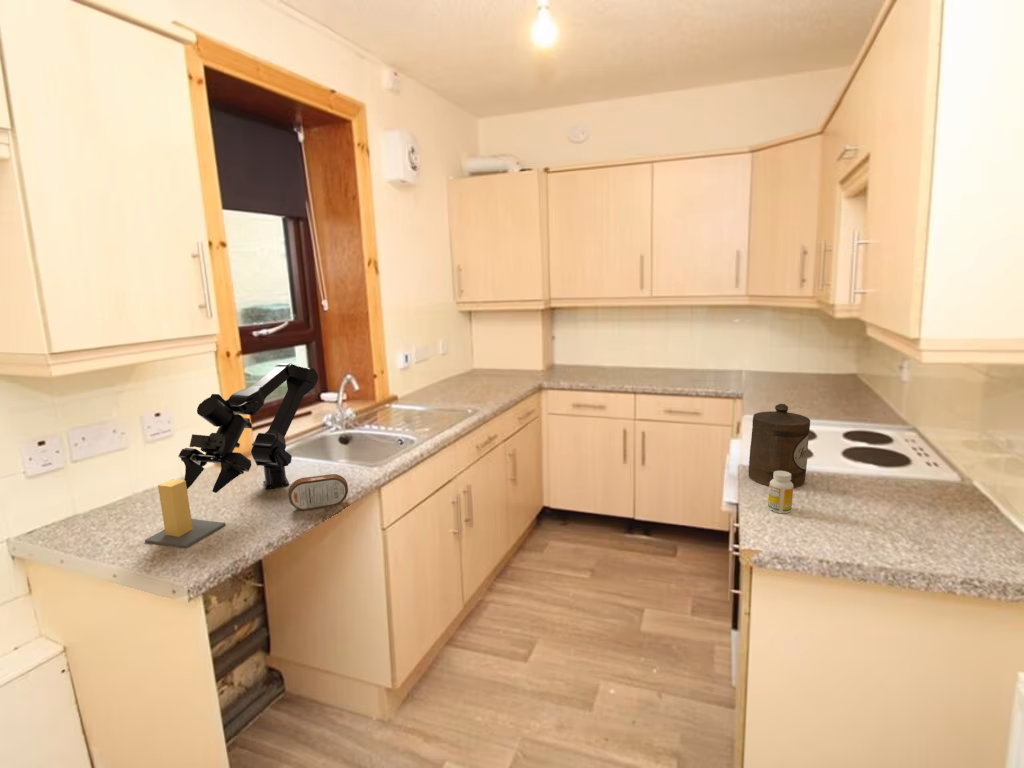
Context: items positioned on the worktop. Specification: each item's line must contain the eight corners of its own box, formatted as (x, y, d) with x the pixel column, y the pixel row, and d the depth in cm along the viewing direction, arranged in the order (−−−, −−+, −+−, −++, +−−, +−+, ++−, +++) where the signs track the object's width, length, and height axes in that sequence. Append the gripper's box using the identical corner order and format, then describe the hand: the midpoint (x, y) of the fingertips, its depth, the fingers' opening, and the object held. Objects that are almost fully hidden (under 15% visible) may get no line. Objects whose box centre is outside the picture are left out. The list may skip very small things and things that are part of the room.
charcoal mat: (144, 542, 132) (144, 539, 132) (186, 520, 143) (186, 518, 143) (186, 547, 128) (185, 545, 128) (225, 525, 140) (225, 522, 140)
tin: (348, 500, 154) (346, 470, 152) (349, 504, 151) (347, 474, 149) (289, 509, 148) (286, 479, 147) (289, 514, 146) (286, 483, 144)
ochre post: (180, 527, 138) (172, 479, 135) (192, 529, 136) (185, 480, 134) (165, 534, 134) (157, 485, 131) (178, 536, 133) (171, 486, 130)
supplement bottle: (768, 512, 139) (771, 476, 137) (766, 504, 144) (769, 468, 142) (792, 515, 137) (795, 478, 136) (790, 506, 142) (792, 470, 140)
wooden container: (810, 490, 152) (817, 411, 148) (751, 486, 156) (756, 409, 152) (799, 471, 166) (805, 399, 162) (745, 468, 170) (749, 397, 166)
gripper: (179, 418, 145) (146, 473, 137) (237, 422, 139) (207, 480, 131) (207, 438, 154) (179, 491, 146) (263, 443, 148) (237, 499, 140)
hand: (199, 490), depth 140 cm, fingers open, 9 cm apart
